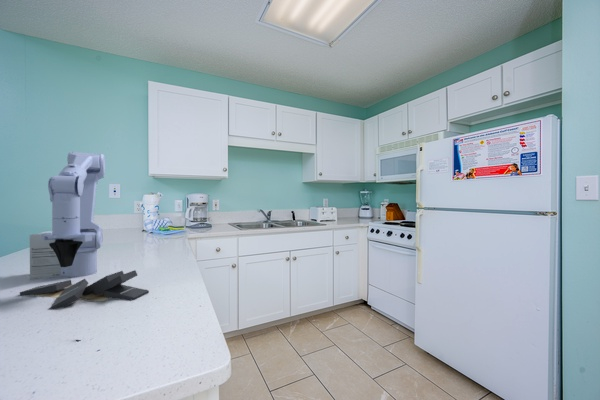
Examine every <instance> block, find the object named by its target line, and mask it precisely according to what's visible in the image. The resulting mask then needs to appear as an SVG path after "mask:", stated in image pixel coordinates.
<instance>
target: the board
mask: <svg viewBox="0 0 600 400" xmlns="http://www.w3.org/2000/svg"><path fill="white" fill-rule="evenodd" d="M72 285H74V284H73V283H72ZM72 285H71V286H72ZM87 286H89V284H88V285H87ZM87 286H86V287H87ZM68 287H70V286H68ZM68 287H65V288H63V289H60V290H57V291H53V292H48V293H43V294H39V295H34V297H44V298H45V297H46V298H56V299H57V298H58V297H59V295H60V294H61V293H62V292H63V290H64V289H66V288H68ZM109 299H110V298H107V297H104V292H103V293H100V294H98V295H96V294H95V292H91V293H88V294H86V295H81V296H80V298H79V300H81V301H92V302H93V301H94V302H104V301H106V300H109ZM79 300H78V301H79Z"/></svg>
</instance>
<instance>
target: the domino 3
mask: <svg viewBox="0 0 600 400" xmlns="http://www.w3.org/2000/svg"><path fill="white" fill-rule="evenodd" d="M123 274H125V273H124V271H123V270H121V271H117V272H113V273H111V274H108V275H105V276H104V277H102V278H100V279H98V280H97V281H94V282H93V283H91V284H88V286H87V287H86V288H85V290H84V291H83V293H82V295H86V294H88V293H91V292H94V289H96V288H98V287H100V286H101V285H103V284H105V283H107V282H109V281H111V280H113V279H114V278H116V277H118V276H120V275H123Z"/></svg>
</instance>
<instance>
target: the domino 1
mask: <svg viewBox="0 0 600 400" xmlns="http://www.w3.org/2000/svg"><path fill="white" fill-rule="evenodd" d="M72 284H73V283H72V280H71V279H68V280H67V279H66V280H64V281H59V282H58V281H57V282H54V283H53V282H52V283H49V284H45V285H44V284H43V285H39V286H35V287H33V288H29V289H26V290H23V291H20V292H19V296H25V297H27V296H35V295H39V294H43V293H48V292H53V291H57V290H60V289H63V288H65V287H68V286H71V285H72Z"/></svg>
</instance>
